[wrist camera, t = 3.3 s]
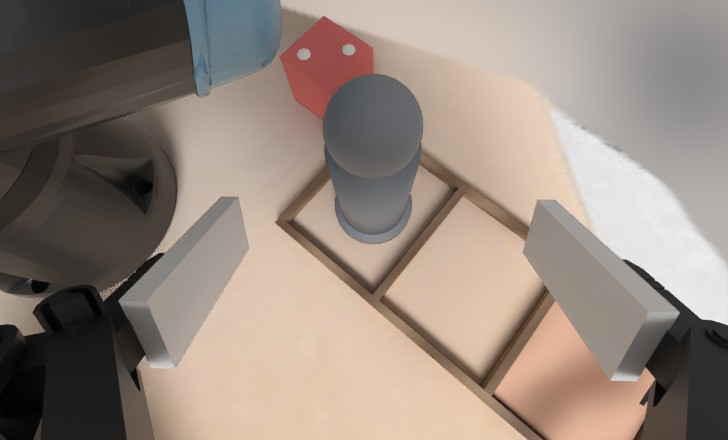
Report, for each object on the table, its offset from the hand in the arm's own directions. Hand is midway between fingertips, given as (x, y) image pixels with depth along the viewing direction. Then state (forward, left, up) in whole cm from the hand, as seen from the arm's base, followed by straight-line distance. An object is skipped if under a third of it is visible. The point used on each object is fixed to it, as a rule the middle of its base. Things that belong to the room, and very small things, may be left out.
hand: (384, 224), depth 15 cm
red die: (-13, +9, -11) cm, 19 cm away
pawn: (-3, +3, -11) cm, 12 cm away
